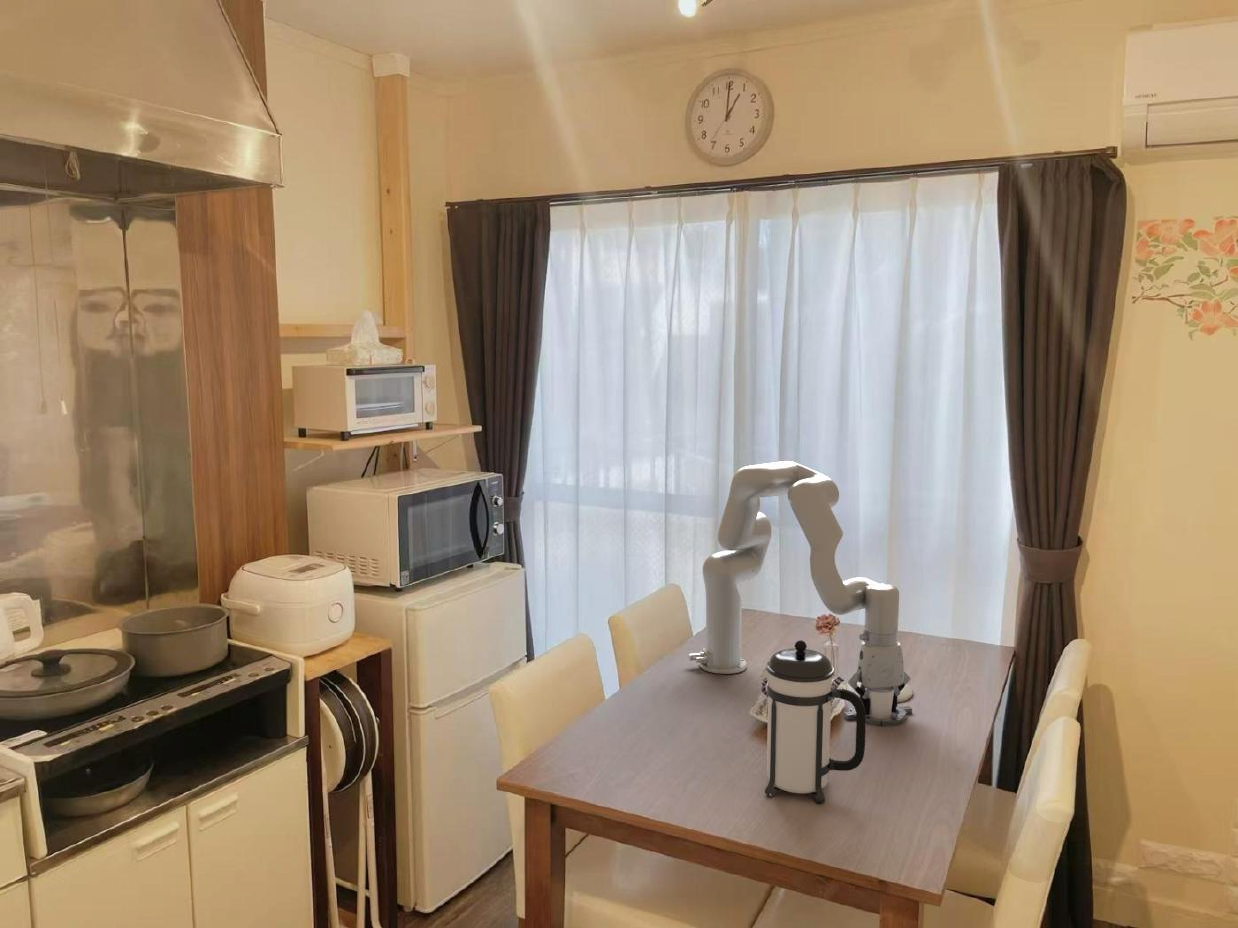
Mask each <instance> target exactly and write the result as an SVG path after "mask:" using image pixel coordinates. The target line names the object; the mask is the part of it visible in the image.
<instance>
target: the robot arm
mask: <svg viewBox="0 0 1238 928" xmlns="http://www.w3.org/2000/svg"><path fill="white" fill-rule="evenodd" d="M783 495H787V500H788V504H789V506H790V508H791V510H792V512H793V513H794V516H795V518H796V520H797V522H798V524H799V526H800V527H801V528H800V529H801V530H802V532H803V534H804V536H805V539H806V541H807V543H808V545H809V549H810V554H809V565H810V566H809V568H810V569H809V571H810V576H811V580H812V582H813V583H812V584H813V586H814V587H815V591H817V594H818V596H819V598H820V600H821V601H822V603H823V605H824V606H825V608H826V609H827V610H828V611H829V612H830V613H832V614H835V615H838V616H845V615H848V614H851V613H853V612H855V611H860V610H863V609H864V624H863V625H864V629H863V632H862V633H861V634H859V635H858V637H859V640H860V641H861V643H860V647H859V650H858V657H857V663H856V665H857V666H856V672H855V673H854V674H853V675H852V676H851V677H850V679H849V680H848V681H847V682H848V684H849V685H850V686H851V687H852V688H853V689H854V690H855V691H856V692H857V693H858V694H859V695H860V699H861V700H862V702H863V704H864V707H865V713H866V715H869V714H870V699H869V698H868V696H869V693H870V690H871V689H875V688H886V687H892V688H894V695H893V702H892V710H891V713H894V712H896V707H897V705H898V702H897V696H899V695H900V691H901V690H902V689H903V688H904V687H905V685H906V684H907V685H908V683H909V682H910V681H911V676H909V675H908V674H907V672H905V665H904V654H903V647H902V644H901V643H900V642H899V639H898V637H899V635H898V634H899V611H900V609H899V608H900V590H899V588H897V587H896V586H895V585H893V584H888V583H879V582H876V581H874V580H872V579H869V578H867V577H864V576H853V577H849V578H846V579H843V580H842V578H841V576H840V573H839V571H838V569H837V566H836V557H835V556H836V551H837V548H838V546H839V544H840V542H841V540H842V538H843V535H844V534H843V533H844V532H843V529H842V527H841V525H840V524H839V521H838V520H837V518H836V516H835V513H834V511H833V510H832V508H834V507H835V506H836V505H837V503H838V502H839V500H840V499H839V498H840V491H839V488H838V486H837V484H836V483H835V482H834V480H833V479H831V478H830V477H828V476H827V475H824V474H823V473H820V472H818V471H816V470H814V469H811V468H809V467H807V466H805V465H802V464H800V463H797V462H795V461H790V460H784V461H783V460H782V461H776V462H768V463H760V464H754V465H753V464H752V465H748V466H744V467H741V468H740V469H738V470H737V471H735V474H734V475H733V477H732V479H731V484H730V487H729V494H728V498H727V501H726V504H725V507H724V510H723V514H722V517H721V521H720V525H719V528H718V533H717V541H718V543H719V545H720V547H721V548H723V549H724V550H721V551H716V552H715V553H713V554H710V555H709V556H708V557H707V558H706V559H705V560H704V563H703V565H702V579H703V582H704V587H705V647H703V648H702V651H699V652H698V653H688V655H687V658H688V661H689V662H694V661H695V663H698V664H699V666H700V668H701V669H702V670H703V671H706V672H709V673H712V674H720V675H731V674H738V673H741V672H743V671H745V670H746V669H747V666H748V665H747V661H746V660H745V659H744V658H742V620H743V619H742V615H743V614H742V609H743V608H742V606H743V604H742V598H741V595H740V592H739V590H738V587H737V586H738V585H740V584H742V583H743V584H744V583H746V582H750V581H751V580H754V579H755V578H756V577H758V575H759V574H760V572H761V570H762V568H763V564H764V561H765V558H766V556H767V552H768V547H769V545H770V542H771V538H772V524H771V521H770V519H769V518H768V516H766V515H765V514H764V513H763V512H760V508H761V500H760V499H761V498H770V497H778V496H783ZM857 682H860V683H861V685H860V687H859V686H858V685H857ZM864 687H866V688H865V689H864Z"/></svg>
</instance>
